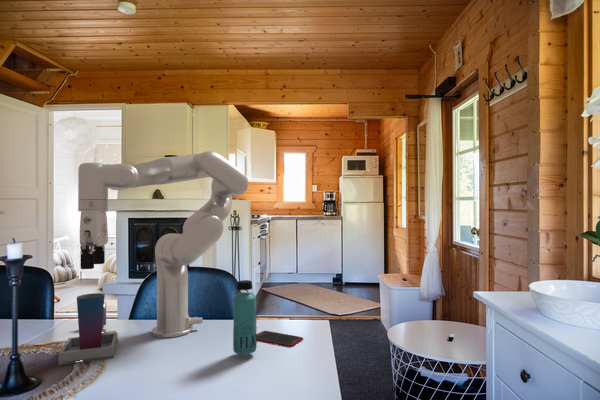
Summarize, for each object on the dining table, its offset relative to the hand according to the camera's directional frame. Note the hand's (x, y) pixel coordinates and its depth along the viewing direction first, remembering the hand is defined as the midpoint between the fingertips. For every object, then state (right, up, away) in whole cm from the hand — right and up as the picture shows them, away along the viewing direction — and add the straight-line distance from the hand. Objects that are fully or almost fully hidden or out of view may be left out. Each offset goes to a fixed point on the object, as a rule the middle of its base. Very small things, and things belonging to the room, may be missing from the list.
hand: (93, 266), depth 108 cm
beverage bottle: (+44, -23, -6) cm, 50 cm away
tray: (+1, -23, -4) cm, 24 cm away
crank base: (-9, -24, +6) cm, 26 cm away
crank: (-5, -23, +13) cm, 27 cm away
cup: (+1, -23, -4) cm, 23 cm away
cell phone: (+52, -24, +6) cm, 58 cm away
